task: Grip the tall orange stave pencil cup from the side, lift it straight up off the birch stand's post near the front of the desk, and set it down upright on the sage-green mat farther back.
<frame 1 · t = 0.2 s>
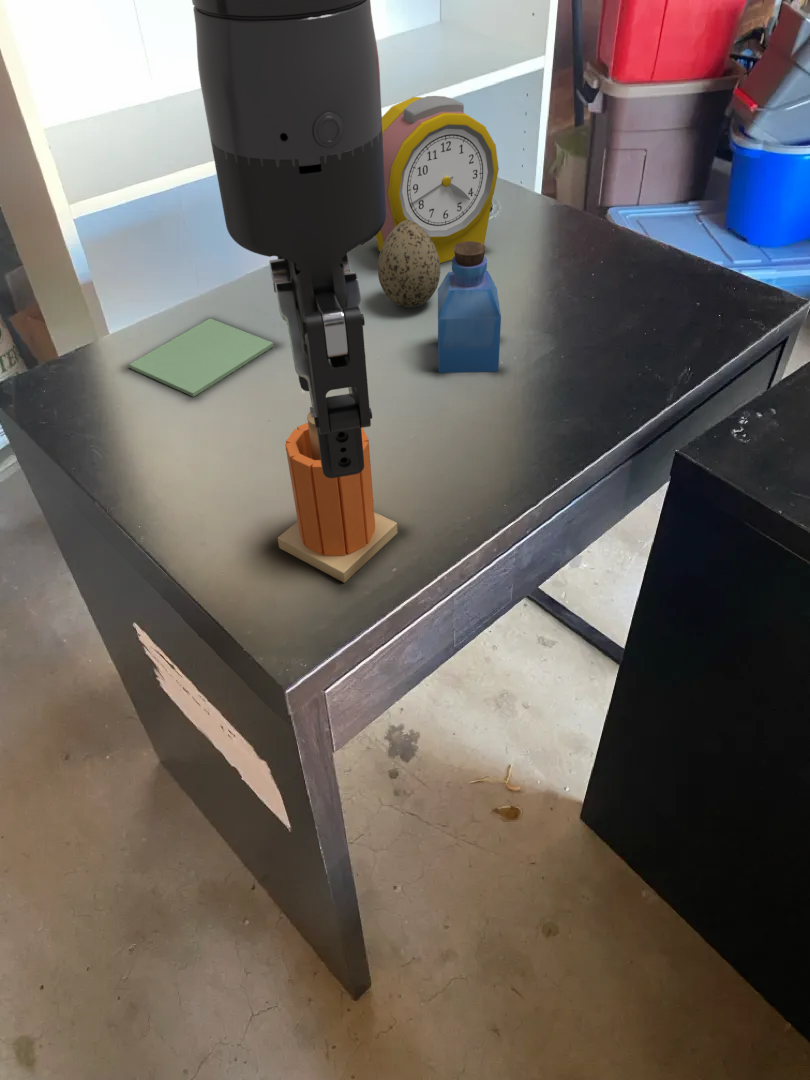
hand: (330, 426, 47), 19 cm above the table, tool pointing down, fingers open, 8 cm apart
perfume bottle: (467, 358, 89), on the table
alarm clock: (431, 253, 107), on the table
decorative egg: (410, 306, 97), on the table
mat: (202, 357, 90), on the table
orange stave pencil cup: (337, 530, 67), point 1 cm above the table, touching stand
stand: (338, 540, 68), on the table
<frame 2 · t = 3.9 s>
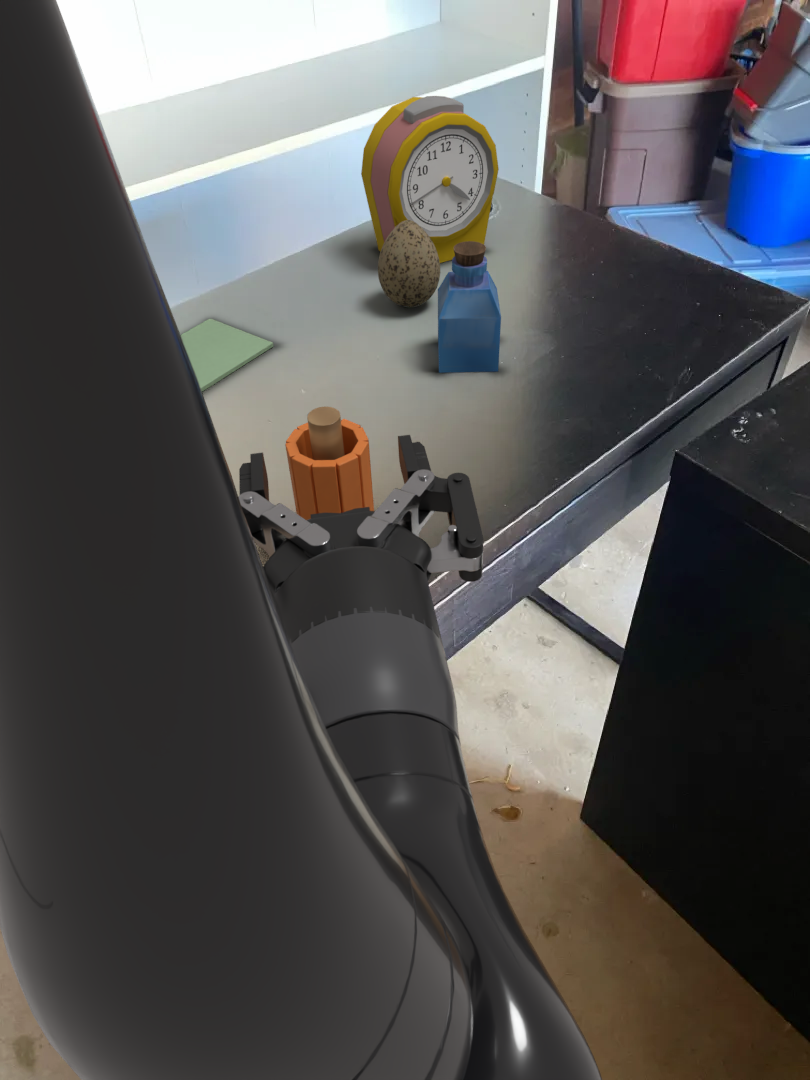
hand: (331, 456, 48), 17 cm above the table, tool horizontal, fingers open, 8 cm apart
nothing on the table moved.
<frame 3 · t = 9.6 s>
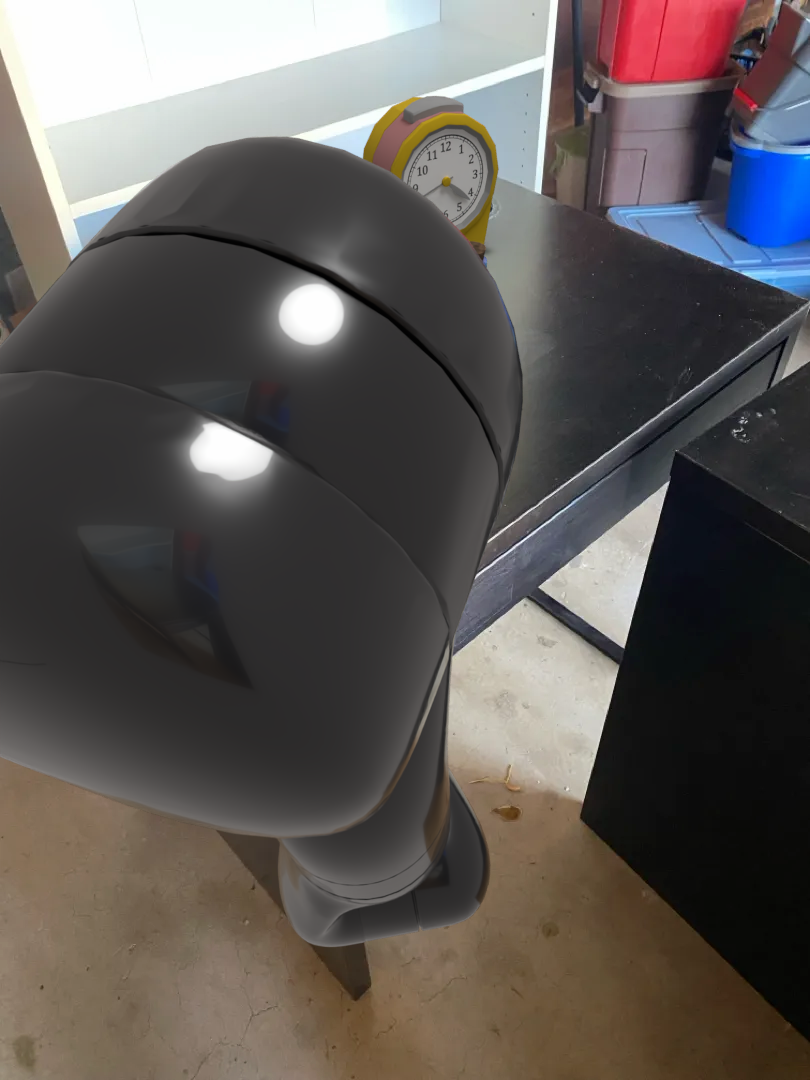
hand: (328, 461, 65), 7 cm above the table, tool horizontal, fingers closed on orange stave pencil cup, 6 cm apart
orange stave pencil cup: (337, 529, 67), point 1 cm above the table, touching gripper, stand
everything else where it was.
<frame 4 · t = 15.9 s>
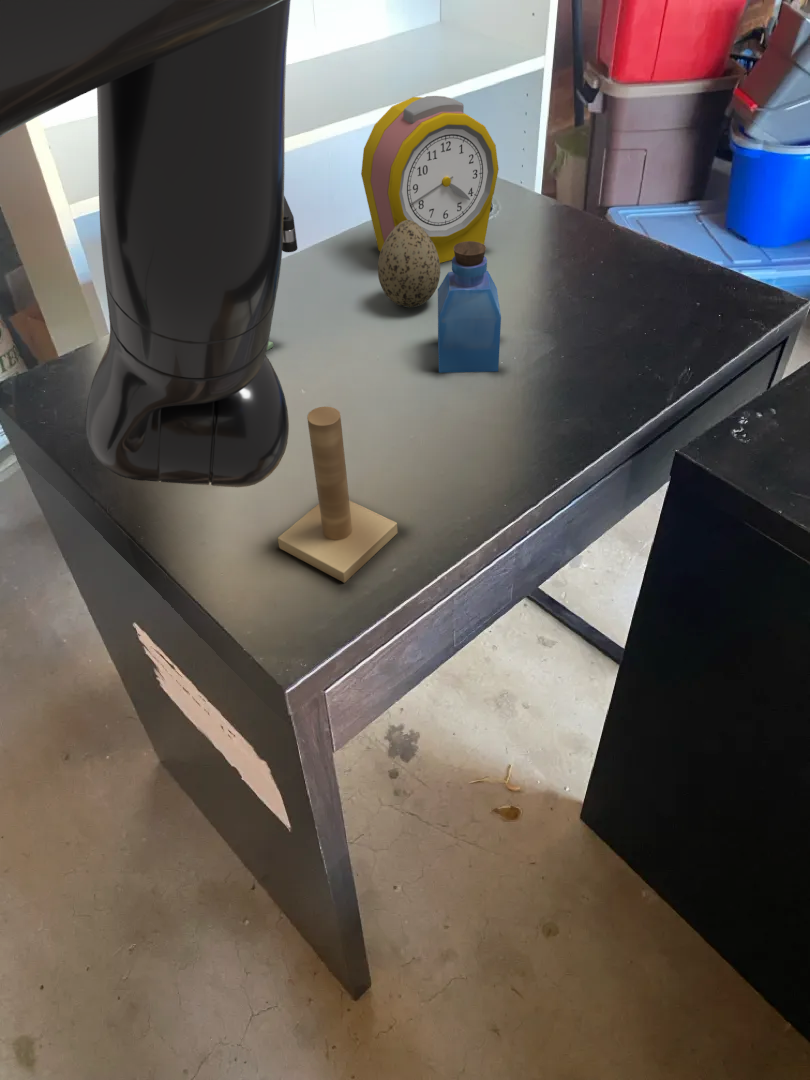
hand: (208, 192, 69), 21 cm above the table, tool horizontal, fingers closed on orange stave pencil cup, 6 cm apart
orange stave pencil cup: (220, 265, 71), point 16 cm above the table, touching gripper
everything else where it was.
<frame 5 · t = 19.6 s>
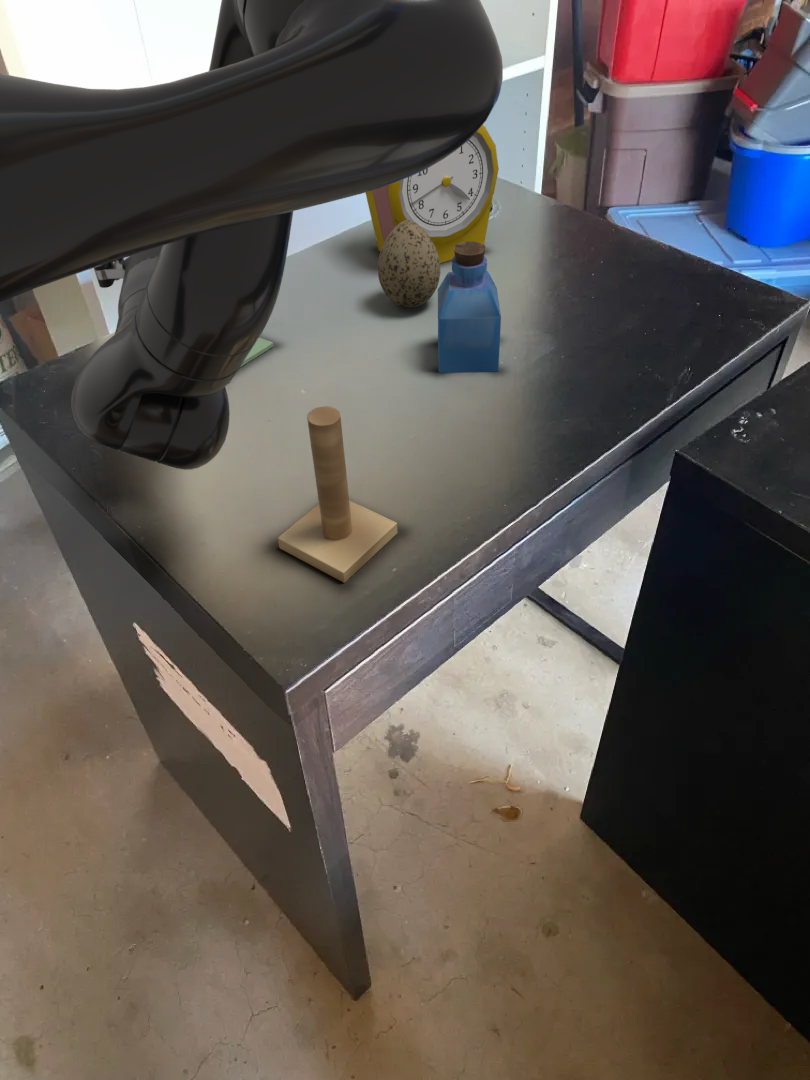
hand: (177, 223, 82), 14 cm above the table, tool horizontal, fingers closed on orange stave pencil cup, 6 cm apart
orange stave pencil cup: (187, 283, 84), point 9 cm above the table, touching gripper
everything else where it was.
when the fingers open (6 cm above the table, at t = 22.4 s): orange stave pencil cup stays where it is, resting on mat.
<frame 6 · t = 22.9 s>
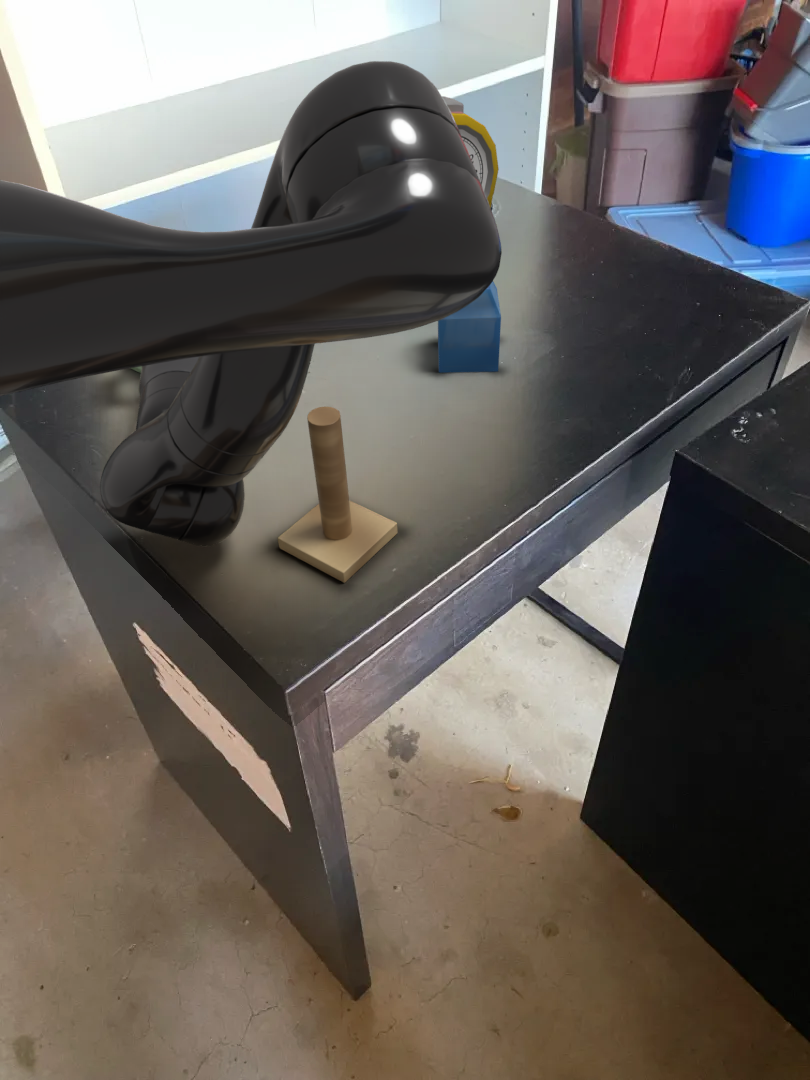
hand: (190, 295, 87), 6 cm above the table, tool horizontal, fingers open, 8 cm apart
orange stave pencil cup: (203, 352, 90), resting on mat
everything else where it was.
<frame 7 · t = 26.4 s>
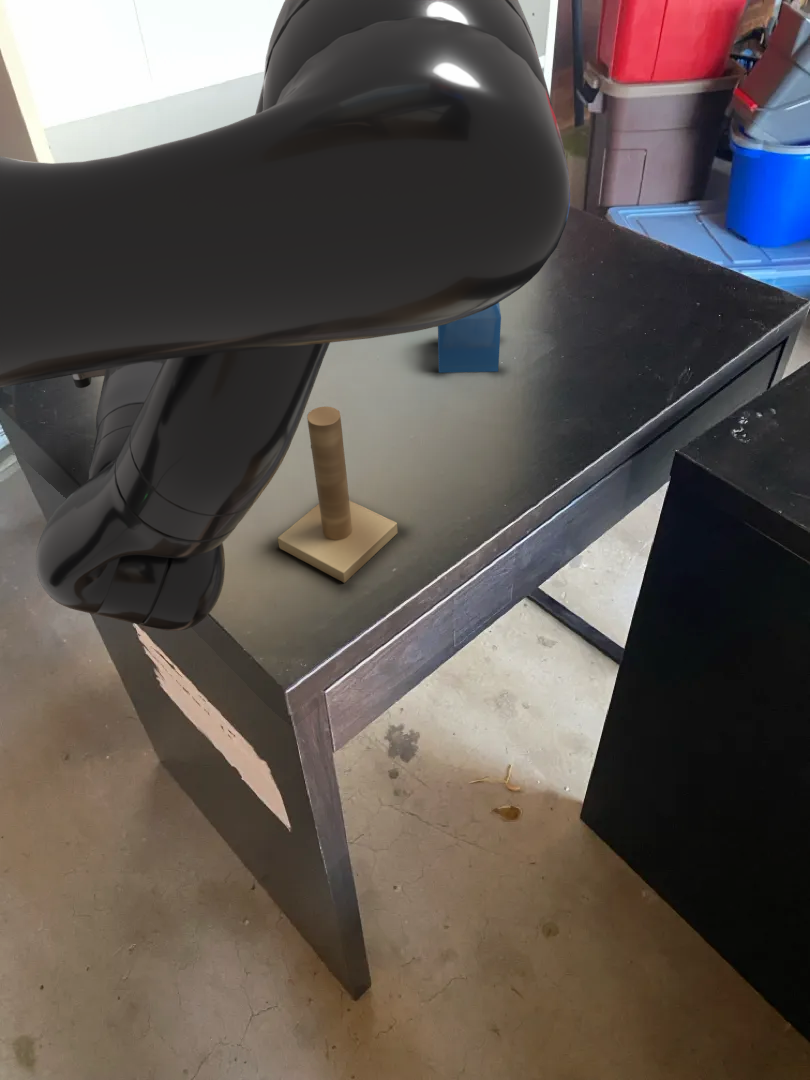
hand: (165, 305, 73), 12 cm above the table, tool horizontal, fingers open, 8 cm apart
nothing on the table moved.
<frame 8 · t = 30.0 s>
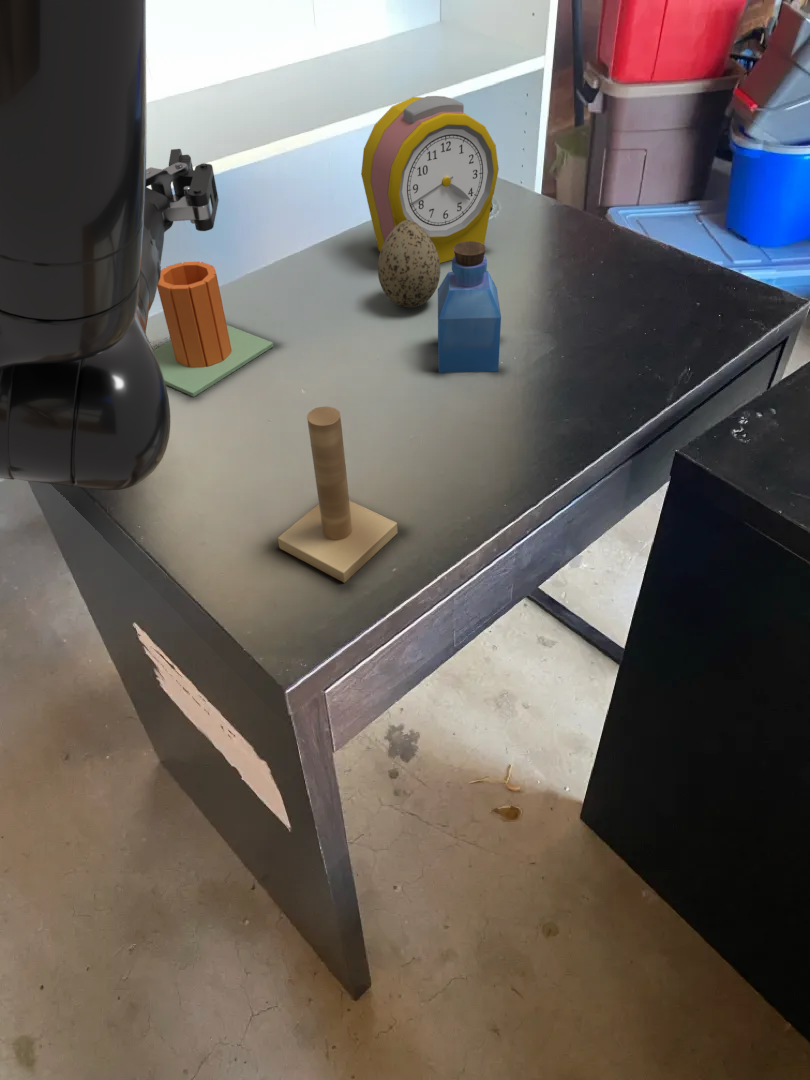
hand: (121, 167, 62), 25 cm above the table, tool horizontal, fingers open, 8 cm apart
nothing on the table moved.
at the end: orange stave pencil cup inside the target area on the mat (0.2 cm from its centre), point 0.5 cm above the mat's base; orange stave pencil cup tilted 0°; the gripper is holding nothing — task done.
